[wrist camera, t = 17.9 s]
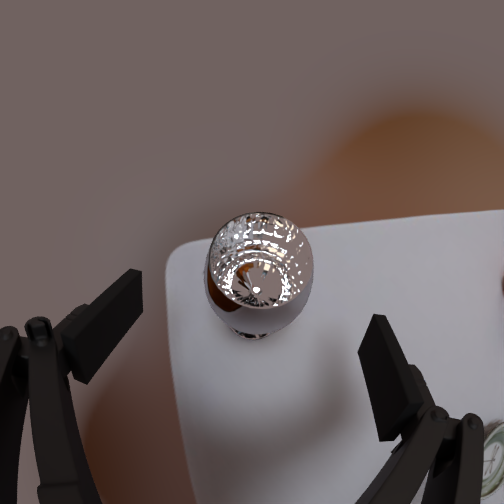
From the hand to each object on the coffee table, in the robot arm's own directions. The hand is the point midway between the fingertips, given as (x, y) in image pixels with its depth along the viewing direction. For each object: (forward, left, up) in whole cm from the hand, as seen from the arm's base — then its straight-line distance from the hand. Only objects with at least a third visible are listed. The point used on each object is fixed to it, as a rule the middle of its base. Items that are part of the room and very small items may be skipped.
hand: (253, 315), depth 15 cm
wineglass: (0, +2, -8) cm, 9 cm away
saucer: (+29, -13, -8) cm, 33 cm away
